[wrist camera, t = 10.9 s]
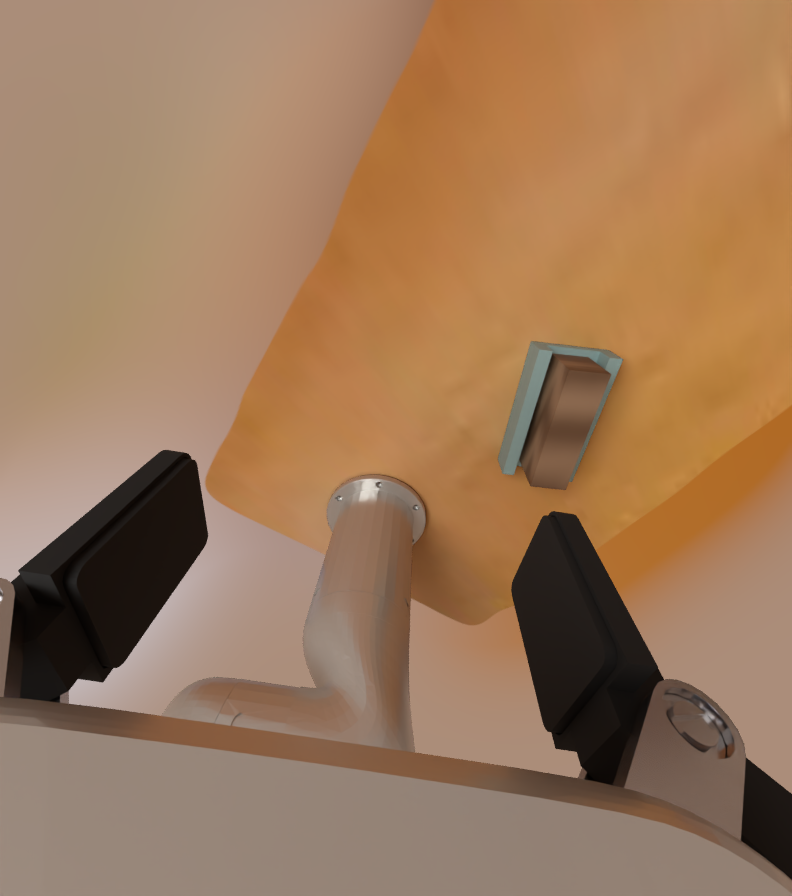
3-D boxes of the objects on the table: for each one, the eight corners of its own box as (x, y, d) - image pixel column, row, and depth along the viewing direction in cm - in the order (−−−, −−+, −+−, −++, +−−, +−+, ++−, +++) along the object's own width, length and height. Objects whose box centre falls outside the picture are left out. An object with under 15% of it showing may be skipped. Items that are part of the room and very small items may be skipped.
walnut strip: (550, 463, 41) (565, 490, 37) (519, 459, 41) (530, 486, 37) (588, 357, 35) (611, 374, 31) (551, 353, 35) (569, 369, 31)
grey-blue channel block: (562, 466, 42) (571, 481, 40) (497, 459, 42) (502, 473, 40) (608, 350, 36) (623, 359, 33) (531, 341, 36) (539, 349, 33)
